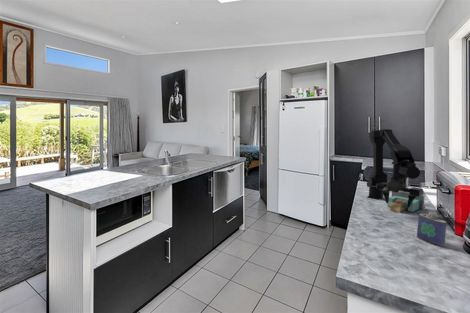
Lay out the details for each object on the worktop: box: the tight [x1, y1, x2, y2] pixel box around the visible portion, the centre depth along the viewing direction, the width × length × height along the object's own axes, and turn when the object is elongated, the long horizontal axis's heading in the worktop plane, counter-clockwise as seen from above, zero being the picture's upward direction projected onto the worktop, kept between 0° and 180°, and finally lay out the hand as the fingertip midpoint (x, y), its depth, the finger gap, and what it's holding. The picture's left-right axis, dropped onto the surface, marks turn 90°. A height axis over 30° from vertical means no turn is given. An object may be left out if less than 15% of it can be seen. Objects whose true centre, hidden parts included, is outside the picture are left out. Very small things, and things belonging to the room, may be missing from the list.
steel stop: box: [391, 191, 426, 211], centre depth 127 cm, size 14×4×7 cm, turn 35°
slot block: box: [386, 195, 420, 213], centre depth 124 cm, size 11×8×4 cm
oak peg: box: [389, 199, 407, 214], centre depth 121 cm, size 4×10×4 cm, turn 131°
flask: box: [416, 212, 448, 248], centre depth 87 cm, size 9×3×11 cm, turn 15°
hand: (397, 205), depth 120 cm, fingers open, 9 cm apart
